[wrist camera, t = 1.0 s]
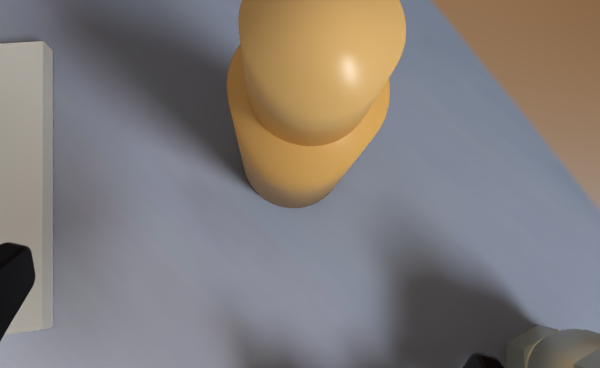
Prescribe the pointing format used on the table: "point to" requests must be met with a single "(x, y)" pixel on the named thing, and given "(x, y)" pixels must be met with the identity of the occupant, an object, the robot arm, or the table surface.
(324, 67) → the stepped tan cylinder
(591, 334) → the valve
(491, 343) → the table surface
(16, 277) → the robot arm
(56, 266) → the table surface
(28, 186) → the plate
